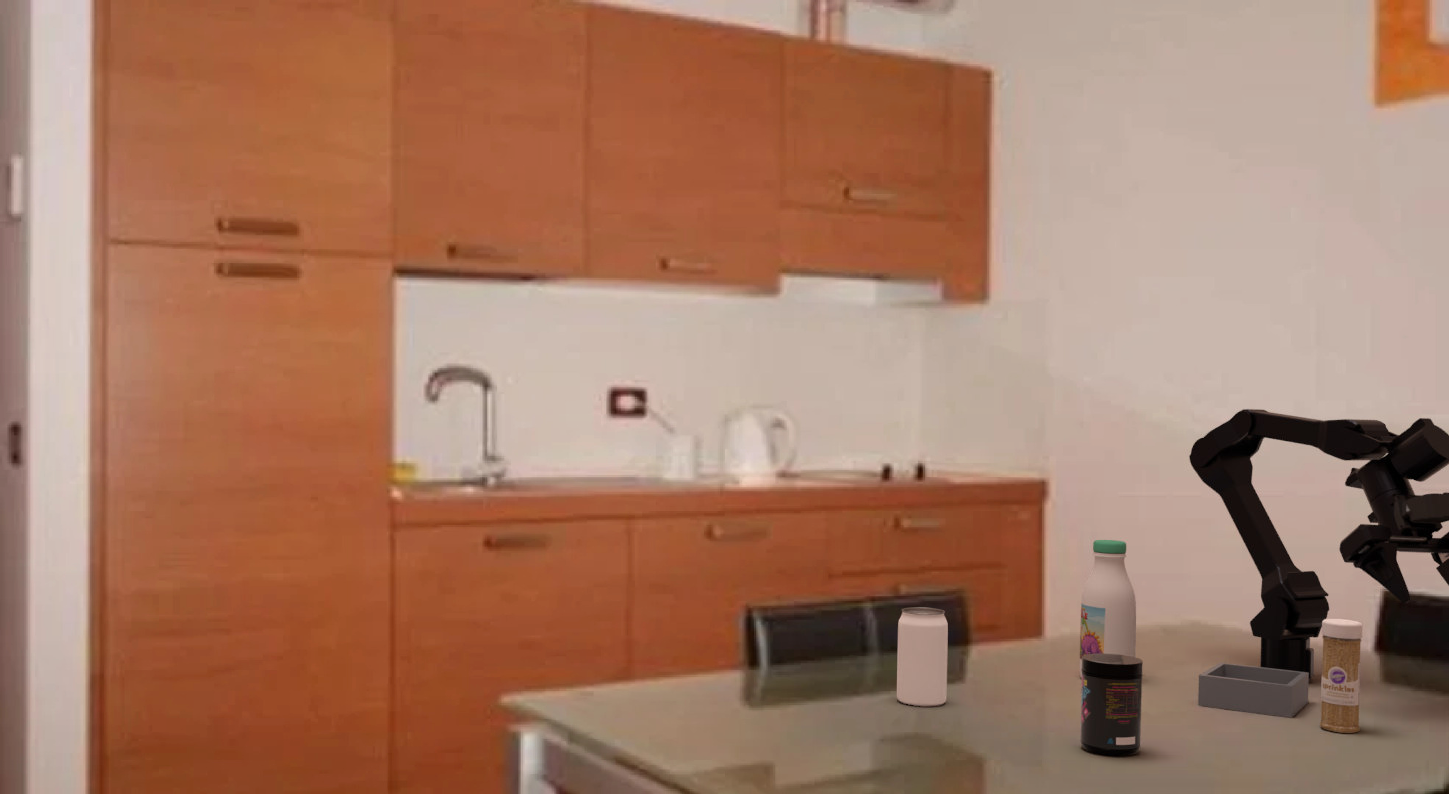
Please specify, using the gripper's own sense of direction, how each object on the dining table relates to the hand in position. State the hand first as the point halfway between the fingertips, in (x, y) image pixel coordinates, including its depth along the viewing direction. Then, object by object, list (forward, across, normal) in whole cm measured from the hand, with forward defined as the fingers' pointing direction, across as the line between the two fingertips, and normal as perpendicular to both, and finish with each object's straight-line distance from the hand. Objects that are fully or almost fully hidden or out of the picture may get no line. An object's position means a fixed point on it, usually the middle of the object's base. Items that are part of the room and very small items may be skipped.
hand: (1437, 602), depth 177 cm
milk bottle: (-4, -30, +34) cm, 45 cm away
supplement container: (+19, -50, +4) cm, 54 cm away
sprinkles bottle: (+15, -16, +7) cm, 23 cm away
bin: (+6, -18, +19) cm, 26 cm away
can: (+3, -62, +26) cm, 67 cm away
